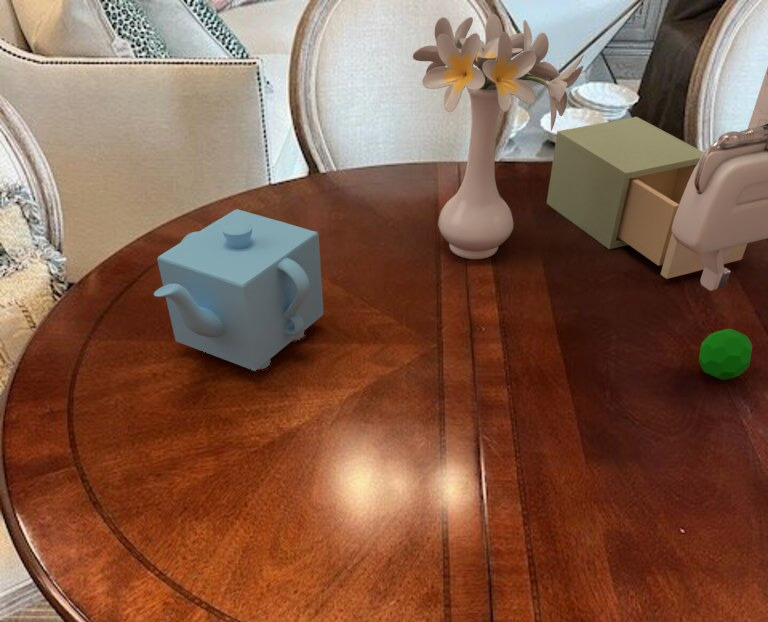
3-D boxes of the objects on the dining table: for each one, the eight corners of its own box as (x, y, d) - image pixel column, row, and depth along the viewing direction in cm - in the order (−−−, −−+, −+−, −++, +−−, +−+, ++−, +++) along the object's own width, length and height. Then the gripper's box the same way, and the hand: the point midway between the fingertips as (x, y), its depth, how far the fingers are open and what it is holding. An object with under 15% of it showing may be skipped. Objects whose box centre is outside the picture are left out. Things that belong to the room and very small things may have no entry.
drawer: (749, 264, 94) (771, 200, 89) (673, 284, 91) (691, 219, 86) (670, 214, 104) (686, 154, 98) (599, 230, 101) (611, 169, 95)
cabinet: (688, 230, 103) (710, 155, 96) (609, 249, 99) (625, 173, 92) (621, 187, 112) (636, 116, 105) (546, 203, 108) (557, 131, 101)
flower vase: (548, 281, 93) (587, 45, 76) (397, 264, 96) (400, 33, 78) (556, 231, 102) (592, 10, 84) (417, 217, 105) (424, 0, 87)
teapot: (231, 295, 91) (214, 185, 82) (344, 333, 85) (339, 220, 76) (121, 374, 80) (87, 257, 71) (241, 424, 75) (221, 303, 65)
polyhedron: (719, 394, 78) (734, 353, 74) (682, 369, 81) (695, 329, 77) (753, 378, 80) (770, 338, 76) (716, 355, 83) (731, 315, 79)
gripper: (737, 151, 57) (684, 316, 67) (933, 113, 63) (858, 270, 73) (681, 122, 61) (639, 282, 71) (871, 89, 68) (807, 241, 77)
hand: (751, 276), depth 72 cm, fingers open, 8 cm apart
